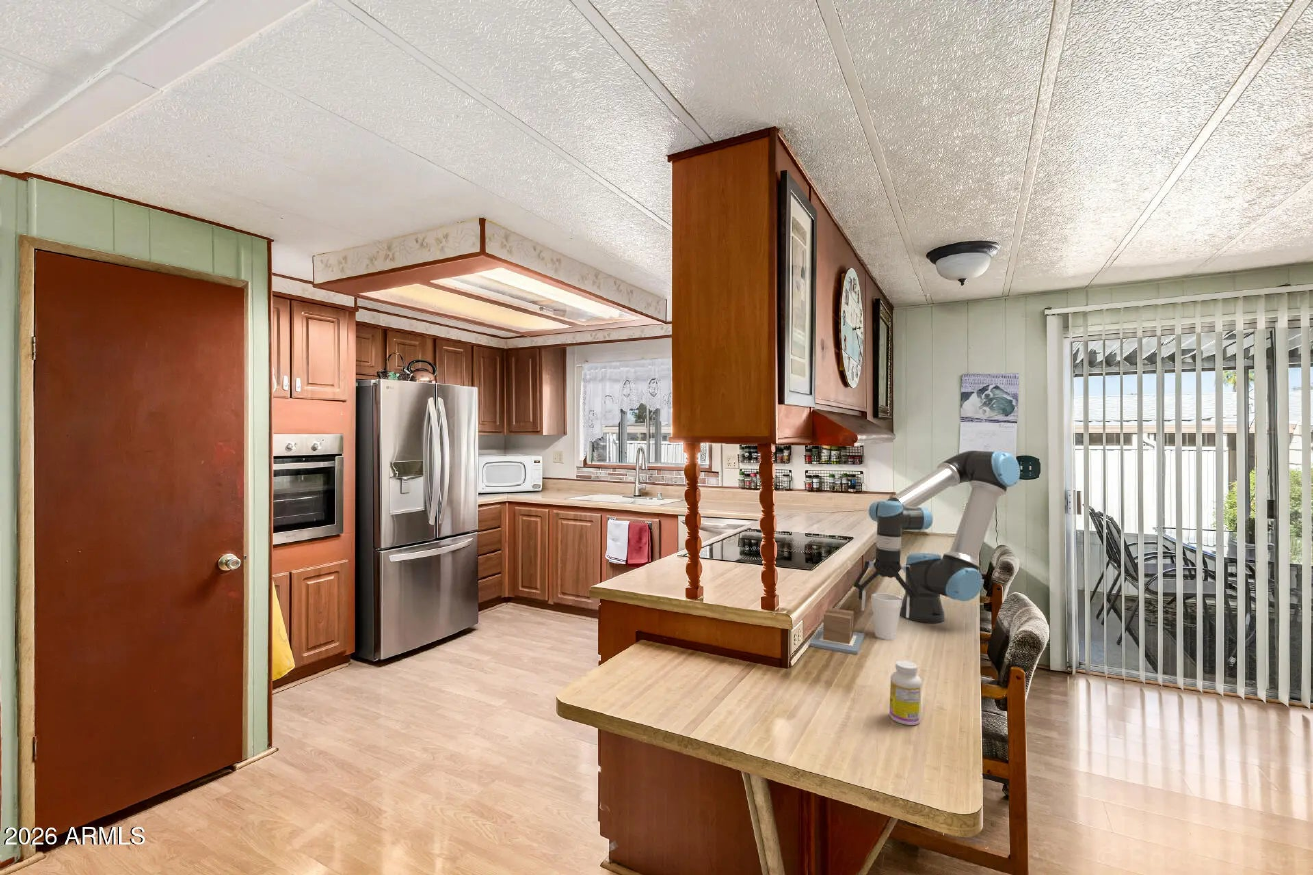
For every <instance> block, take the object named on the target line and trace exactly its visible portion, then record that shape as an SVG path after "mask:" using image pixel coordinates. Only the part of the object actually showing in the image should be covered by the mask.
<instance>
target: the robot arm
mask: <svg viewBox="0 0 1313 875" xmlns="http://www.w3.org/2000/svg"><path fill="white" fill-rule="evenodd" d="M1020 477H1021V468H1020V464H1019V462H1018V460H1017V459H1016V457H1015V456H1014V455H1012V454H1011V453H1009V452H1002V451H999V450H997V451H985V450H983V451H982V450H967V451H964V452H960V453H958V454H955V455H954V456H951V457H950V458H947V459H945V460H944V461H942V462H941V463H940V464H938V465H937V467H936V469H935V470H933V471H932V472H930V473H928V474H927V475H925V476H923V477H922V478H920V479H919V480H917V481H915V482H913V483H912V484H911V485H909V486H907V487H906V488H904V489H903V490H901V491H899V492H898V493H896V494H895V495H893V496H891V497H889V498H888V499H886V500H880V501H879V500H878V501H874V502H872V503H870V505H869V506H868V507H869V508H868V515H869V518H870V519H871V520H872V521H873V522H875V523H877V524H876V538H875V540H876V542H875V545H876V547H877V548H875V560H874V561H870V560H869V559H866V560H865V562H864V565H863V566H864V567H863V569H862V571H861V572H860V574H859V575H858V577H857V578H856V580H855V582H854V584H852V585H853V588H856V589H858V600H861V611H862V612H864V611H865V610H866V591H867V590H866V587H867V586H868V585H869V584H870V583H871V582H873V581H874V579H876V578H877V577H878V576H880V577H882V578H885V577H886V578H890V579H892V578H894V579H895V580H896V581H897V582H898V583H899V585H900V586H901V587H902V589H903V590H904V592H905V593H904V595H903V598H902V607H901V610H900V615H899V616H901V617H902V618H904V619H907V620H910V621H914V622H921V623H928V624H930V623H931V624H935V623H936V624H937V623H938V624H939V623H942V622H945V619H946V618H945V611H944V608H943V607H944V606H943V605H942V604H943V603H942V601H941V596H944V597H946V598H950V599H951V600H953V601H960V602H968V601H971V600H973V599H974V598H976V597H977V596H978V595H979V594H980V592H981V590H982V587H983V584H984V581H983V576H982V574H981V572H980V571H979V570H980V567H981V566H980V565H979V563H978V558H979V554H980V553H981V549H982V546H983V544H984V540H985V537H986V534H987V531H988V528H989V526H990V523H991V520H992V517H993V514H994V512H995V508H996V506H997V503H998V500H999V498H1000V497H1001V496H1003V495H1005V494H1006V492H1007V489H1008V487H1009V488H1011V487H1014V486H1015V485H1016V484H1017V483H1018V481H1019V480H1020ZM962 483H963V484H964V483H968V484H969V486H970V487H971V491H970V493H969V497H968V500H967V502H966V505H965V509H964V511H963V513H962V517H961V519H960V521H959V524H958V527H957V530H956V534H955V535H954V538H953V539H954V540H953V542H952V544H951V547H950V550H949V551H948V552H947V551H946V552H945V553H943V555H942V554H941V555H940V554H939V553H929V552H928V553H925V552H923V553H922V552H921V553H919V552H918V553H915V552H914V553H909V554H908V555H907V557H906V560H905V561H906V562H905V565H901V550H900V549H901V547H902V534H903V533H902V532H903V531H922V530H923V531H925V530H928V529H929V528H931V527H932V525H933V521H934V520H933V519H934V517H933V514H932V511H931V510H929V508H927V507H920V506H921V505H922V504H924V503H925V502H928V501H929V500H930V499H932V498H934V497H935V496H937V495H938V494H940V493H941V492H944V491H945V490H946V489H948V488H949V487H957V486H958V485H961V484H962ZM872 567H874V569H875V571H874V572H873V573H872V574H871V575H870V576H869V577H868V578H867V579H865V581H863V582H862V583H861V581H862V580H863V577H864V576H865V575H866V573H867V571H868V570H869V569H870V568H872ZM901 570H902V571H903V573H904V574H905V580H904V579H903V577H902V576H901V575H900V573H899V572H900V571H901ZM860 583H861V584H860Z"/></svg>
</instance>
